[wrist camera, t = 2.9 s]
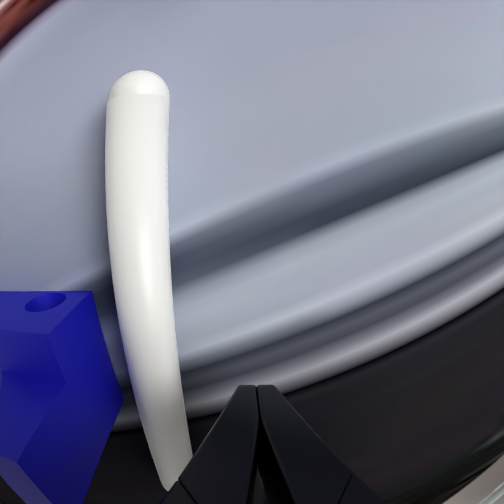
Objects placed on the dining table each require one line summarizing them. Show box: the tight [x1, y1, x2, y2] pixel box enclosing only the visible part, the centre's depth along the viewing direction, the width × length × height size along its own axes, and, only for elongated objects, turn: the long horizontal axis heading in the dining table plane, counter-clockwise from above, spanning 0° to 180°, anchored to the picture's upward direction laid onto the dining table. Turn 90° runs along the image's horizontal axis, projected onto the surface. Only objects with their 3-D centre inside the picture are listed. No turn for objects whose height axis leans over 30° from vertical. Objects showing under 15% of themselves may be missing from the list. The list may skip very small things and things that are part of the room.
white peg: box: [105, 70, 193, 491], centre depth 9 cm, size 16×2×2 cm, turn 179°
